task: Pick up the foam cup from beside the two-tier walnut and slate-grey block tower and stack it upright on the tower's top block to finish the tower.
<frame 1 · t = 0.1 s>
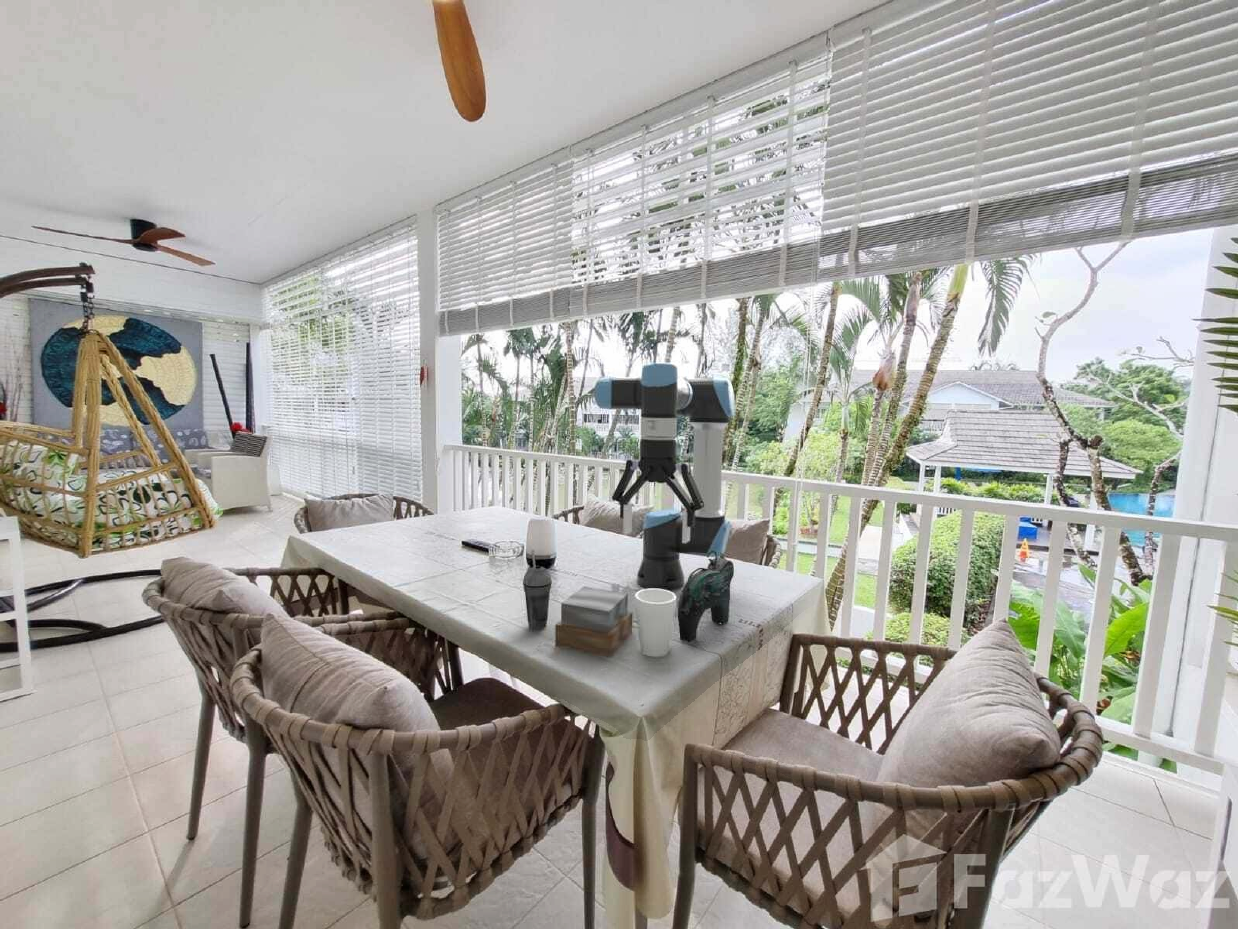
hand: (655, 537, 106), 28 cm above the table, tool pointing down, fingers open, 13 cm apart
green elephant statue: (706, 630, 126), on the table
castle model: (625, 613, 136), on the table
beverage cup: (537, 627, 126), on the table
block tower: (595, 638, 120), on the table
foam cup: (654, 651, 115), on the table
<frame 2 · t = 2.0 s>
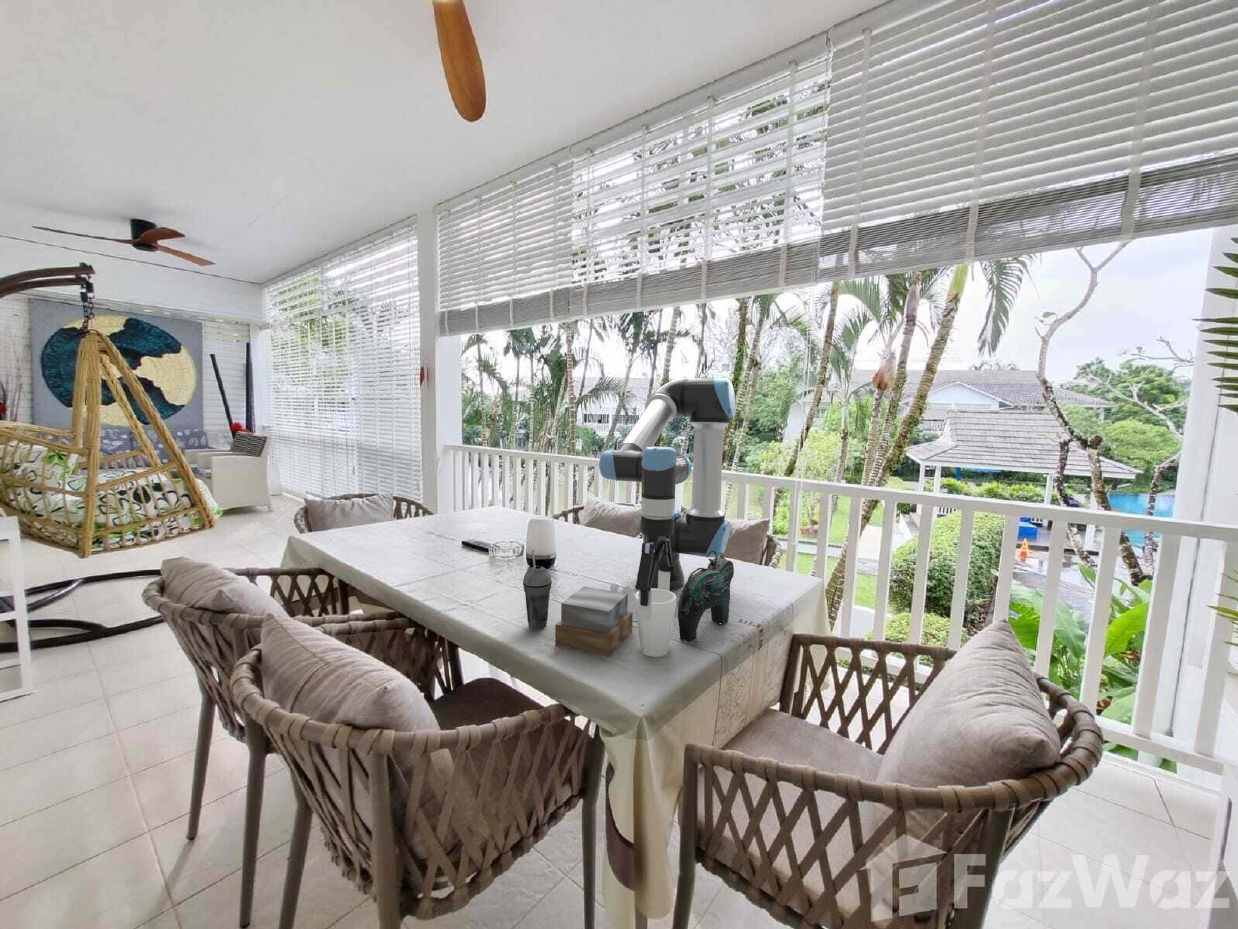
hand: (654, 608, 113), 10 cm above the table, tool pointing down, fingers open, 13 cm apart
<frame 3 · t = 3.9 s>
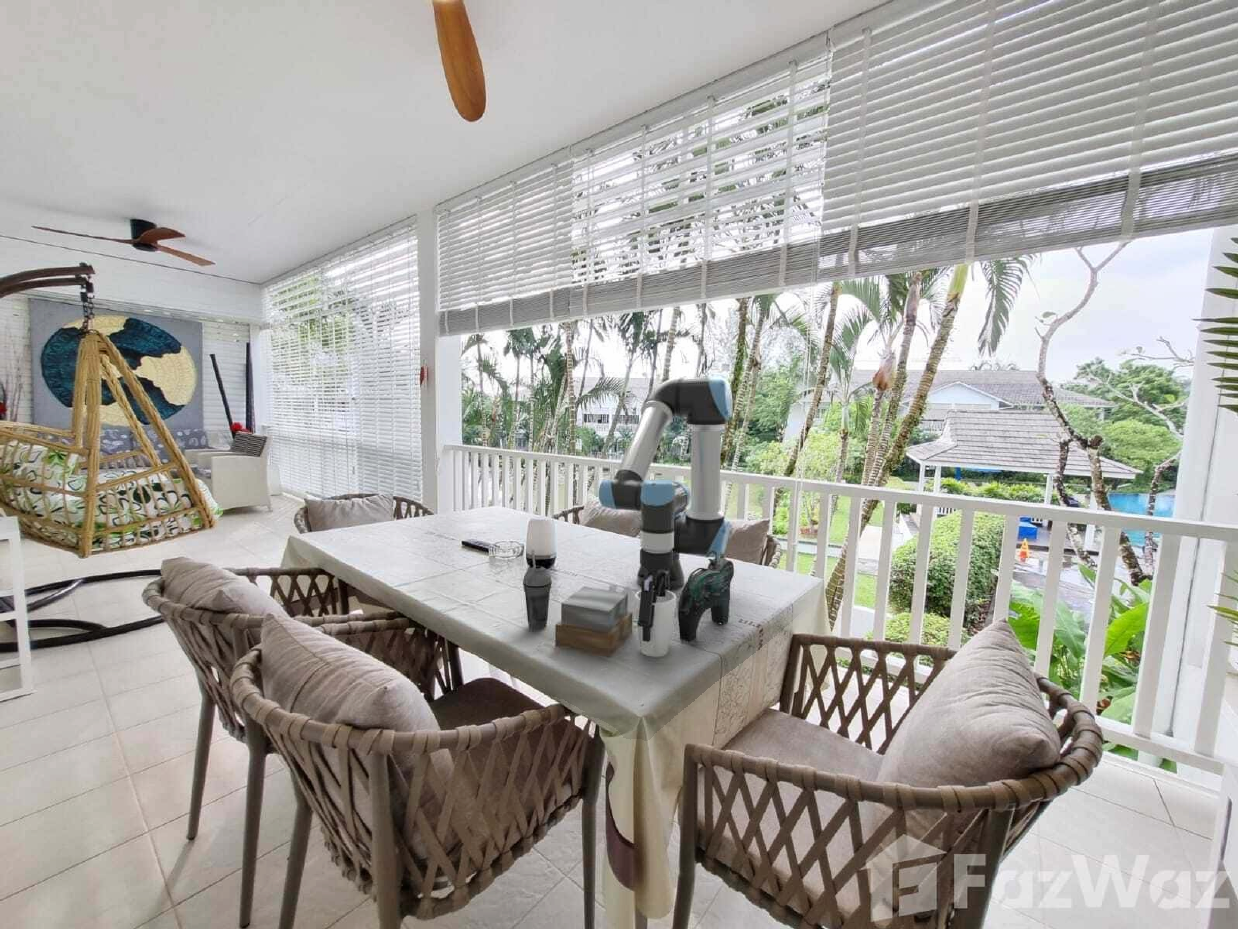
hand: (654, 643, 114), 2 cm above the table, tool pointing down, fingers closed on foam cup, 9 cm apart
foam cup: (654, 650, 115), on the table, touching gripper
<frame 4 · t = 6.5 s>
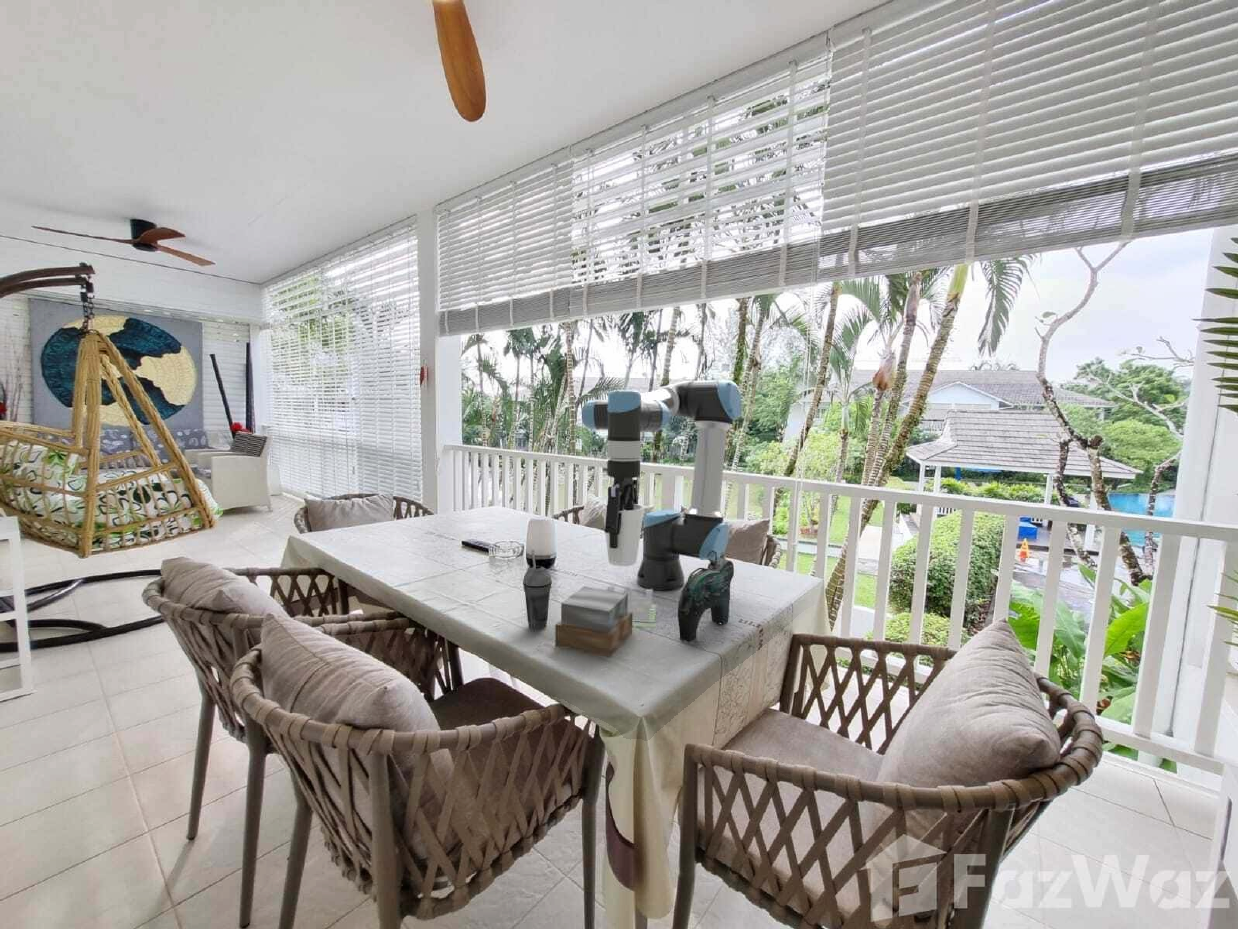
hand: (622, 555, 115), 21 cm above the table, tool pointing down, fingers closed on foam cup, 9 cm apart
foam cup: (622, 562, 116), point 20 cm above the table, touching gripper
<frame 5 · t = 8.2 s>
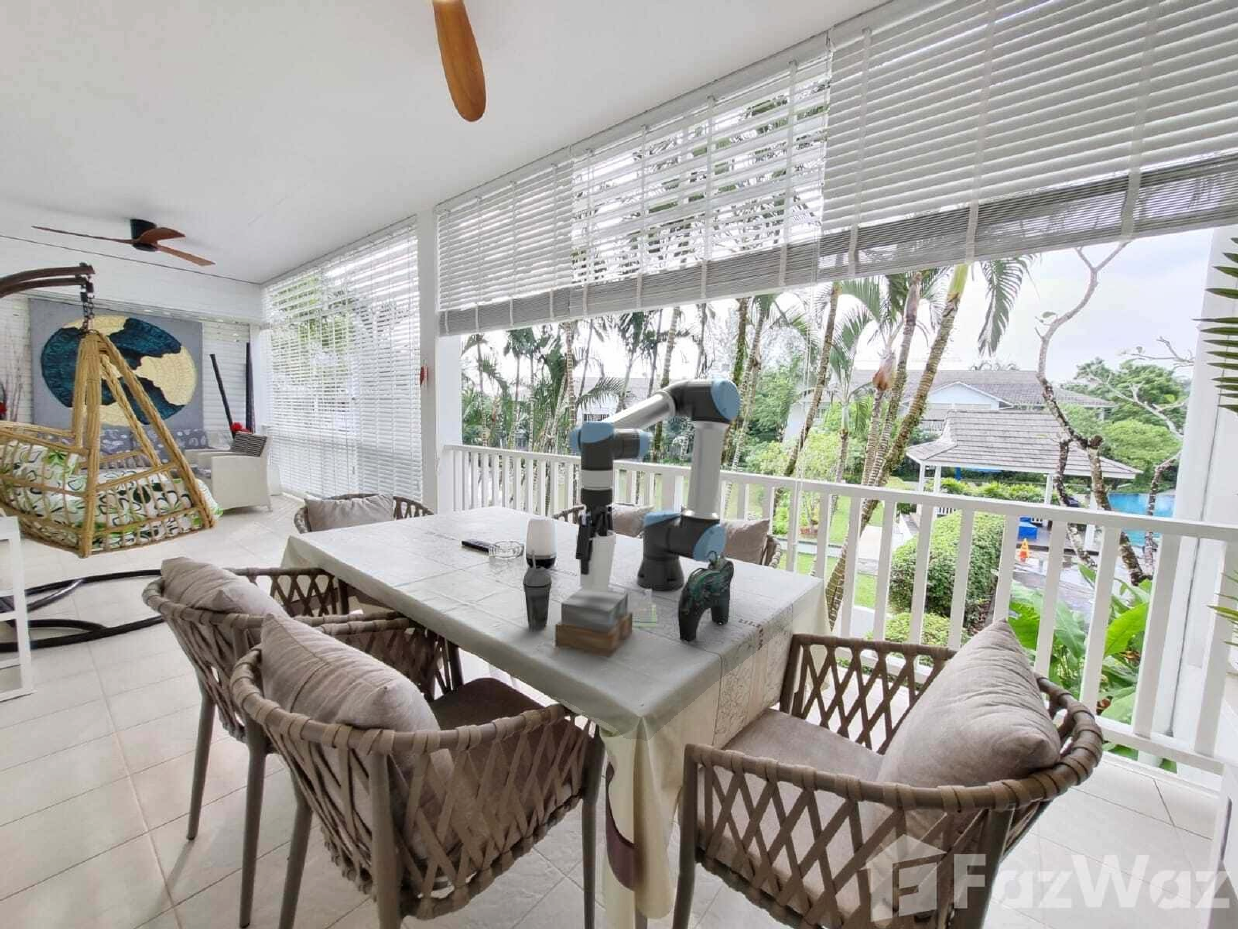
hand: (595, 580, 118), 14 cm above the table, tool pointing down, fingers closed on foam cup, 9 cm apart
foam cup: (595, 587, 119), point 13 cm above the table, touching gripper
when the fingers open (13 cm above the table, at t = 9.4 s): foam cup drops 1 cm, resting on block tower.
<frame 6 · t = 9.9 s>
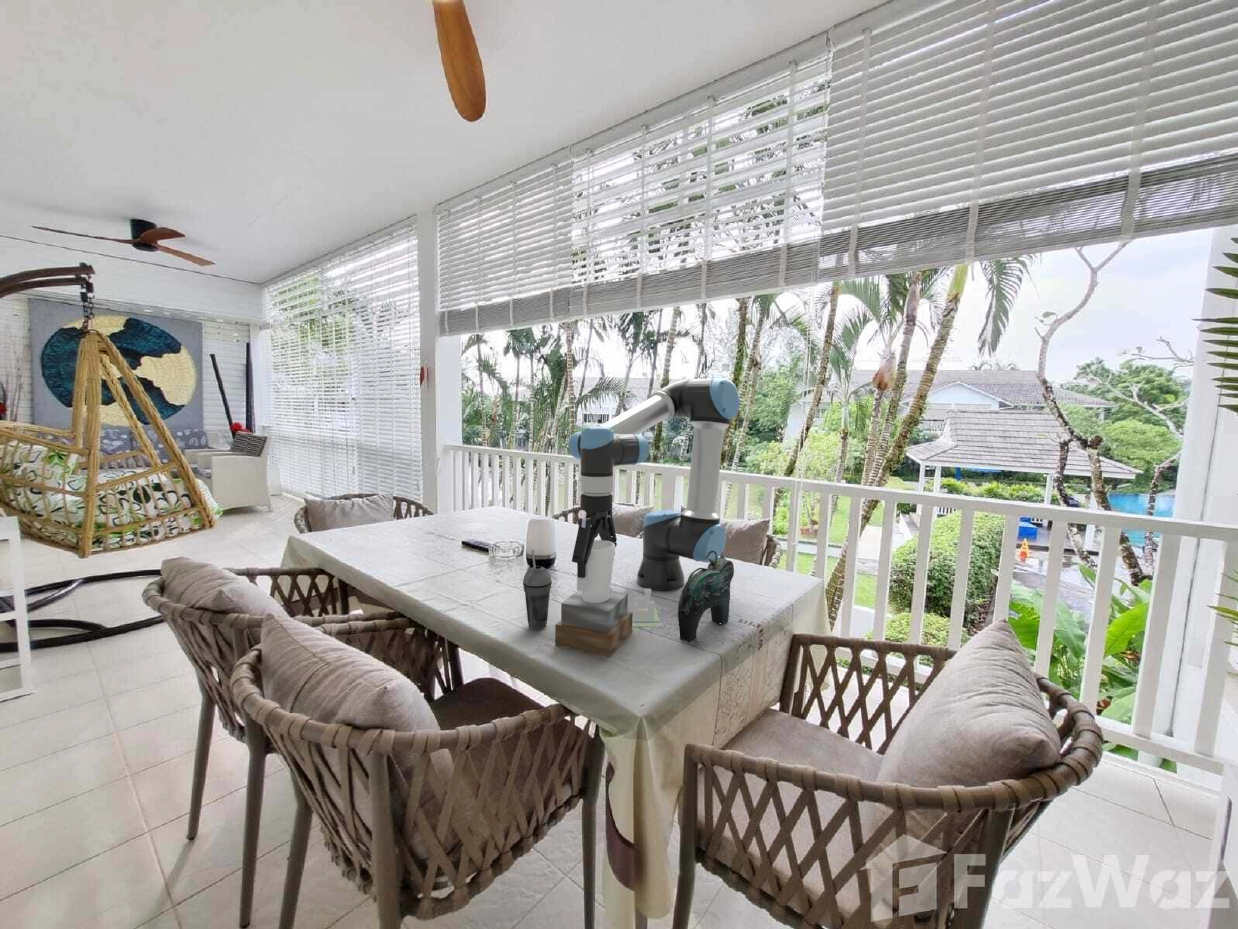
hand: (595, 581, 119), 14 cm above the table, tool pointing down, fingers open, 13 cm apart
foam cup: (595, 598, 119), point 10 cm above the table, touching block tower
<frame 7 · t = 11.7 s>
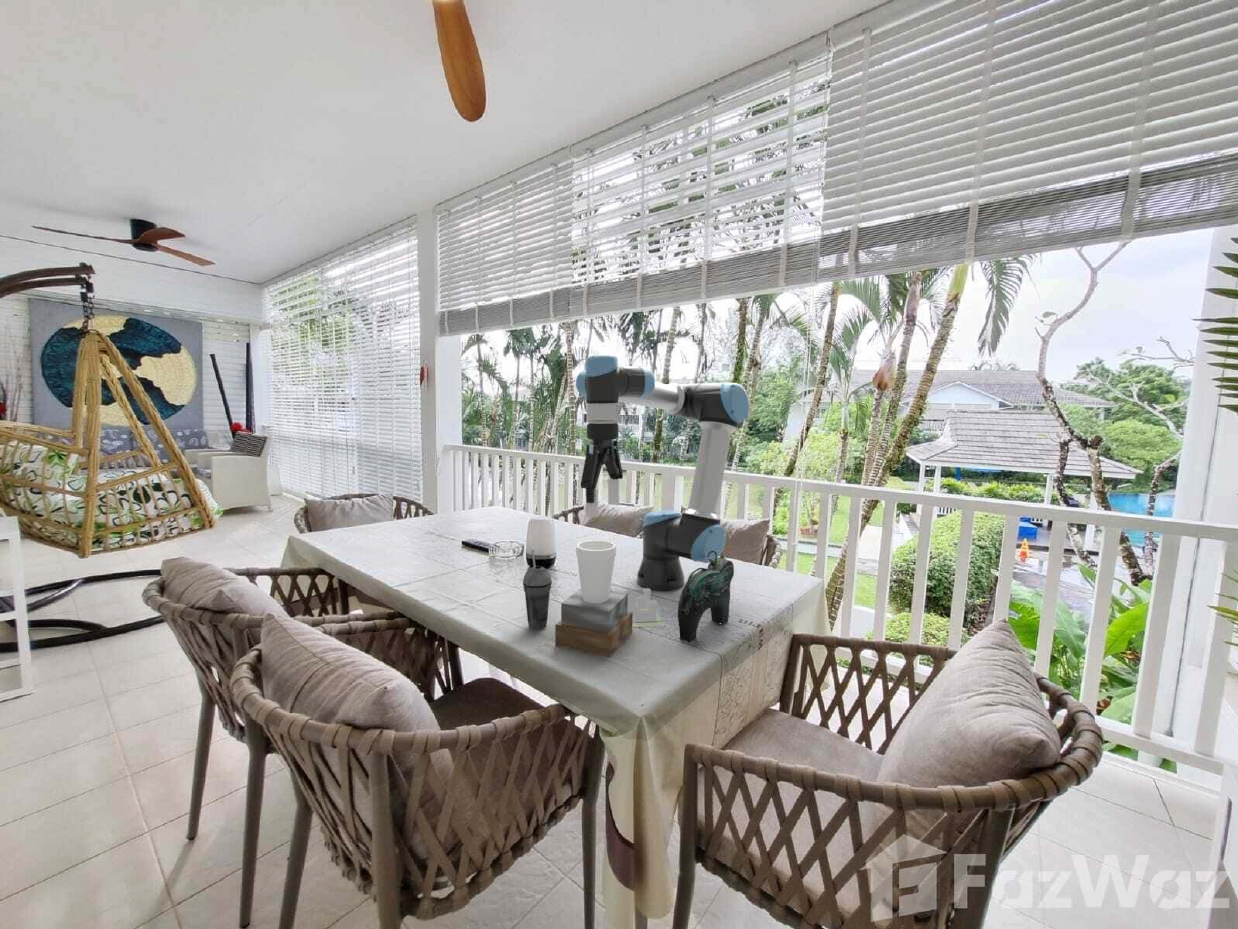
hand: (603, 510, 120), 31 cm above the table, tool pointing down, fingers open, 13 cm apart
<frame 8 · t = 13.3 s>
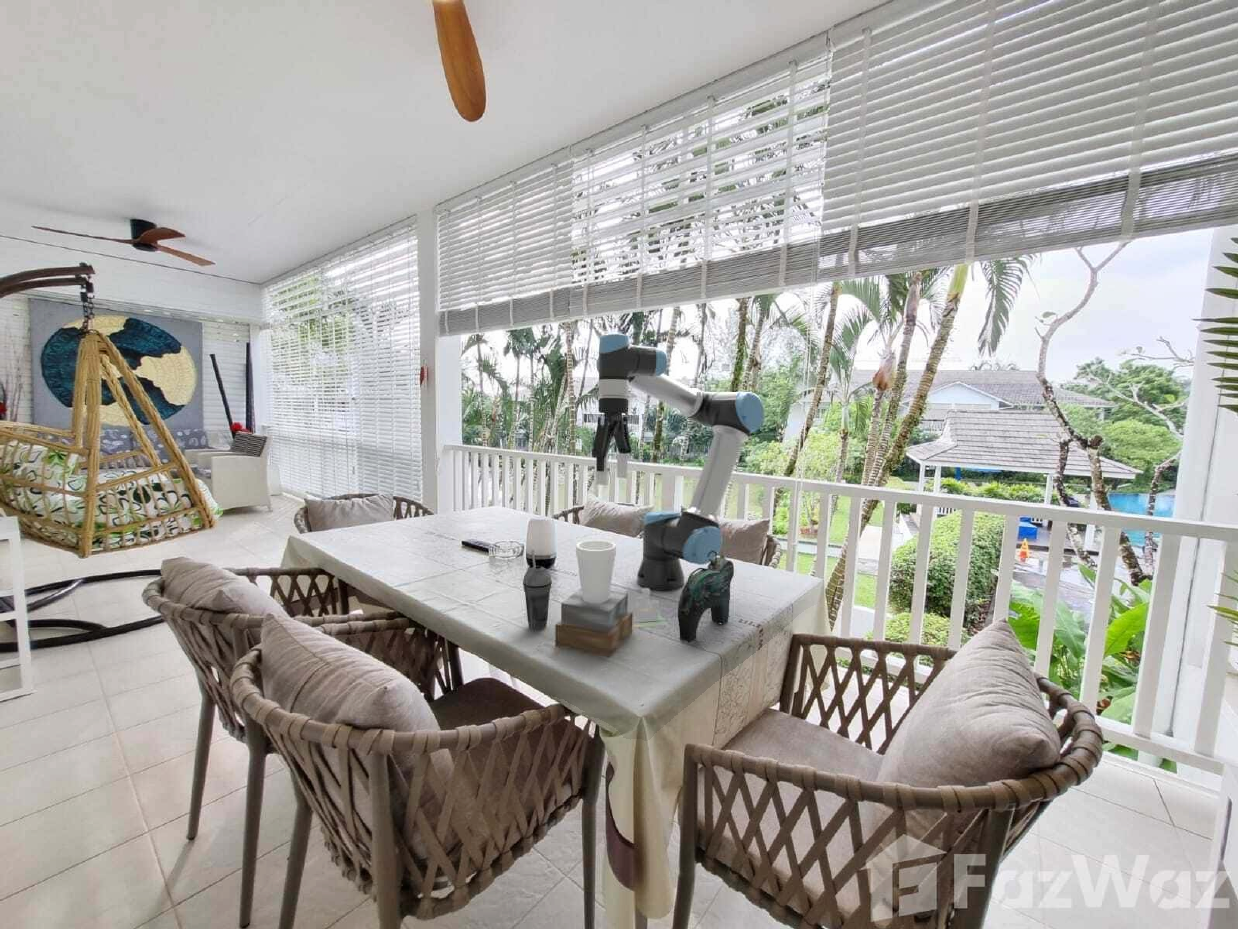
hand: (612, 481, 127), 37 cm above the table, tool pointing down, fingers open, 13 cm apart
at the end: foam cup inside the target area on the block tower (0.1 cm from its centre), point 9.8 cm above the block tower's base; foam cup tilted 0°; the gripper is holding nothing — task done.
